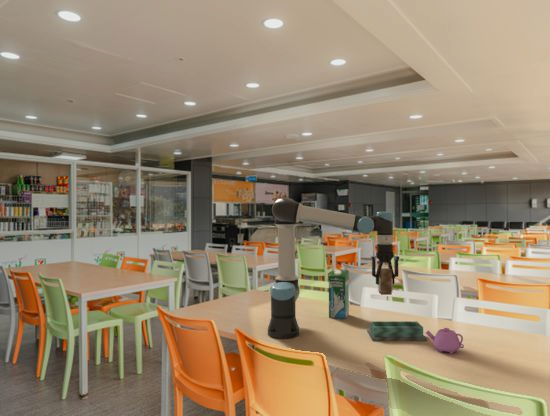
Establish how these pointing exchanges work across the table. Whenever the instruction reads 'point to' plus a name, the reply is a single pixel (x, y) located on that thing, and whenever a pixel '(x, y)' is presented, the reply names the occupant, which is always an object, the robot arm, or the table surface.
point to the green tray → (396, 331)
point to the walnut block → (386, 281)
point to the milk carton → (339, 293)
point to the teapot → (446, 340)
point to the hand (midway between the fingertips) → (385, 290)
